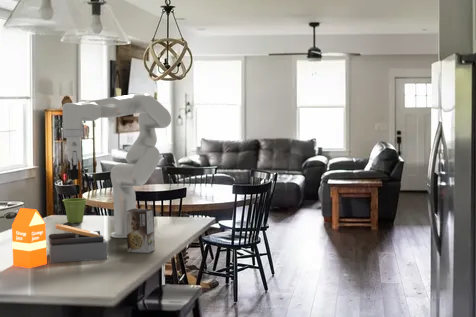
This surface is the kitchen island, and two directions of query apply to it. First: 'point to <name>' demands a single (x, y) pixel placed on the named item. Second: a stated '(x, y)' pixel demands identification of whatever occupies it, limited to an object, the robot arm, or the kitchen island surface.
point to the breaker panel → (77, 251)
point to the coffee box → (140, 230)
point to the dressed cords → (73, 238)
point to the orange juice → (29, 239)
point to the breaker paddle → (76, 230)
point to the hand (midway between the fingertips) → (74, 179)
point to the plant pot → (74, 209)
